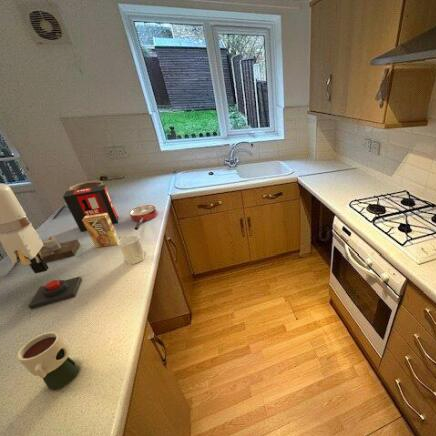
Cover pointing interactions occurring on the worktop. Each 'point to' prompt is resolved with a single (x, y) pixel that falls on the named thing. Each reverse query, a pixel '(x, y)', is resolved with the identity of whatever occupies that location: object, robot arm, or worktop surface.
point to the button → (52, 285)
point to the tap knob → (52, 244)
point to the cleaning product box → (89, 204)
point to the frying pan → (142, 214)
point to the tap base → (61, 251)
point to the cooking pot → (86, 185)
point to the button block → (56, 293)
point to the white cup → (131, 248)
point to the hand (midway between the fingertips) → (42, 270)
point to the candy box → (100, 230)
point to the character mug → (48, 360)
